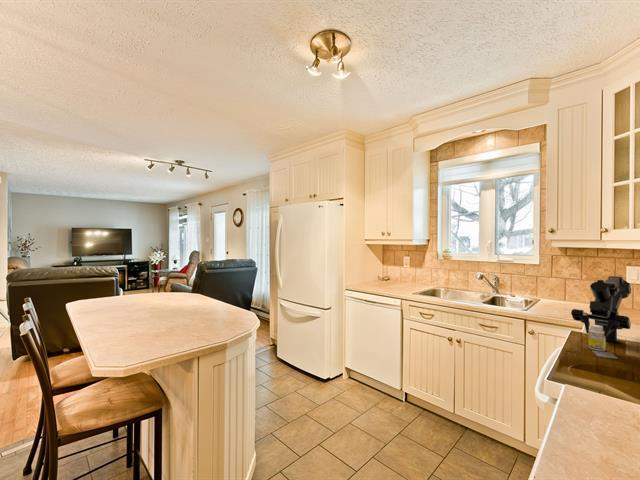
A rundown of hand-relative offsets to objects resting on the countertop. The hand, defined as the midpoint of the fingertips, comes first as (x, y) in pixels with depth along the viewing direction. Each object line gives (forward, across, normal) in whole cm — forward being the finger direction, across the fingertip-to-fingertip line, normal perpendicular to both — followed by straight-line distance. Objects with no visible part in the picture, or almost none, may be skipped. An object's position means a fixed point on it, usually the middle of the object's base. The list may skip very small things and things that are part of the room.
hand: (596, 334), depth 129 cm
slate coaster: (+8, +4, +1) cm, 9 cm away
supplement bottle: (+4, 0, +6) cm, 7 cm away
